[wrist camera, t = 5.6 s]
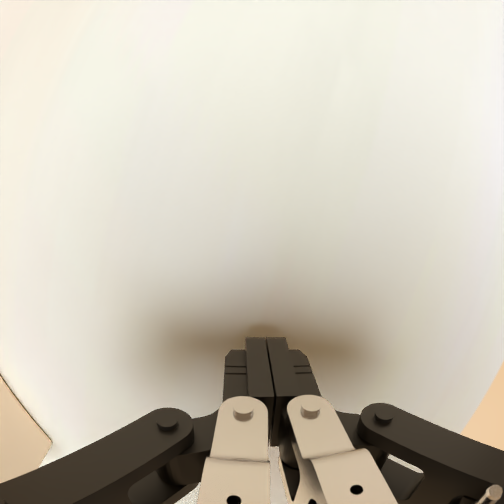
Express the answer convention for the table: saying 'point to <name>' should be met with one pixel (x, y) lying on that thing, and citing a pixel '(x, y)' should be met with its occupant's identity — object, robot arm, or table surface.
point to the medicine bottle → (18, 438)
